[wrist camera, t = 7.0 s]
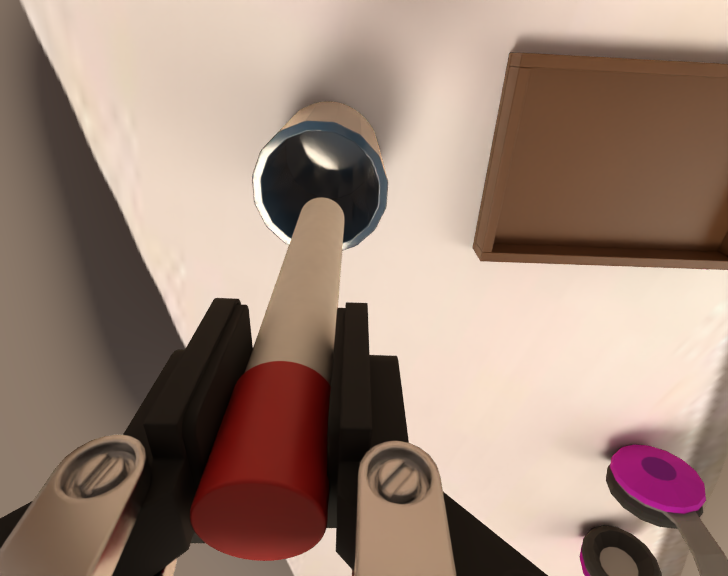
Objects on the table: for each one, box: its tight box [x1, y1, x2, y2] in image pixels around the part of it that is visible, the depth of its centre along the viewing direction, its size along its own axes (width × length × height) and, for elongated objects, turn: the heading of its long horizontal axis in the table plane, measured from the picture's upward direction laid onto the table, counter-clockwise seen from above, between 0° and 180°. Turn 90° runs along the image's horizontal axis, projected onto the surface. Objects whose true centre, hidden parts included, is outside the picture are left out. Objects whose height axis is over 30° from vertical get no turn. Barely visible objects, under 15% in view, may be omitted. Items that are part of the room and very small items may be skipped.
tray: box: [473, 53, 728, 270], centre depth 32 cm, size 15×22×3 cm
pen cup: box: [252, 101, 388, 251], centre depth 28 cm, size 7×7×10 cm
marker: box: [190, 198, 344, 561], centre depth 13 cm, size 2×2×14 cm
